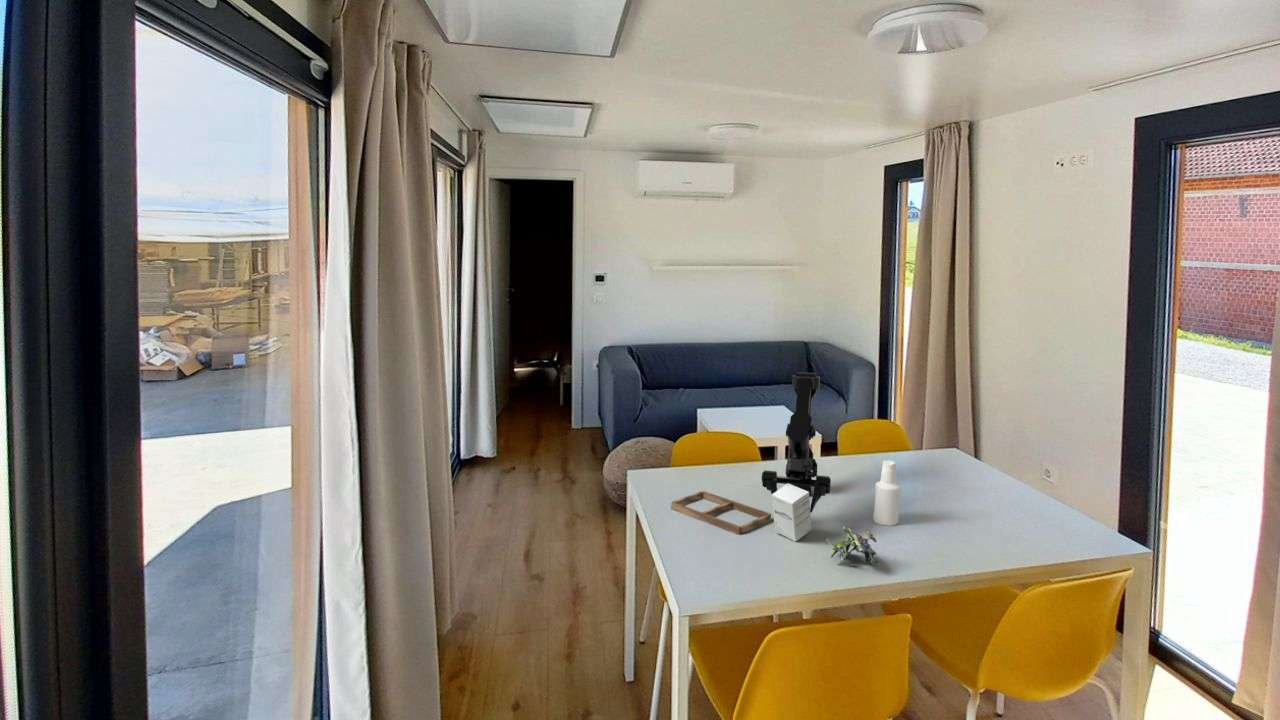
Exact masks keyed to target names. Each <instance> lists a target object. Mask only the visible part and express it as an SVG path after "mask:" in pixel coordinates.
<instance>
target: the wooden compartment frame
mask: <svg viewBox="0 0 1280 720" xmlns="http://www.w3.org/2000/svg"><path fill="white" fill-rule="evenodd" d="M703 498H704V500H707V501H710V502H712V503H715V504H718V505H717V506H715V507H713V508H710V509H708V510H705V511H702V512H701V511H699V510H696V509H693V508H691V507H687V506H686V505H688V503H689V504H692V503H694V502H697V501H699V500H702V499H703ZM670 508H671V509H670V510H672V511H675V512H678V513H680V514H683V515H686V516H689V517H690V518H693V519H697V520H698V521H702V522H704V523H706V522H707V524H709V525H712V524H713V525H712V526H714V525H715V527H717V526H718V527H717V528H720V529H722V528H723V529H722V530H725V529H726V531H727V530H729V531H728V532H730V531H731V533H733V532H734V533H733V534H735V533H736V535H738V534H739V535H744V534H746V533H748V532H747V531H749V530H751V531H753V530H755V529H757V528H759V526H760V527H762V526H764V525H766V524H768V522H769V523H770V522H771V520H772V513H770V512H767V511H764V510H761V509H758V508H755V507H752V506H748V505H746V504H744V503H740V502H738V501H735V500H731V499H729V498H726V497H722V496H719V495H716V494H713V493H710V492H707V491H705V490H703V491H701V490H700V491H698V492H695V493H692V494H690V495H687V496H684V497H681V498H678V499H674V500H673V501H671V503H670ZM732 509H733V510H735V511H738V512H741V513H744V514H747V515H749V516H751V517H752V516H753V517H756V519H754V520H752V521H749V522H747V523H744V524H741V525H737V524H734V523H731V522H728V521H726V520H724V519H720V518H718V517H715V516H718V515H720V514H723V513H725V512H727V511H729V510H732ZM761 525H762V526H761ZM756 527H757V528H756ZM754 528H755V529H754ZM752 529H753V530H752ZM745 532H746V533H745ZM749 532H750V531H749ZM743 533H744V534H743Z"/></svg>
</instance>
